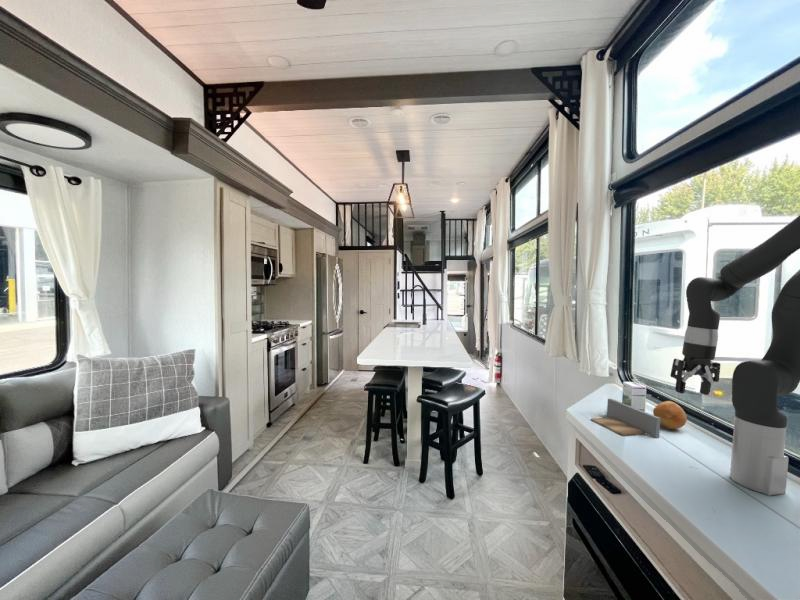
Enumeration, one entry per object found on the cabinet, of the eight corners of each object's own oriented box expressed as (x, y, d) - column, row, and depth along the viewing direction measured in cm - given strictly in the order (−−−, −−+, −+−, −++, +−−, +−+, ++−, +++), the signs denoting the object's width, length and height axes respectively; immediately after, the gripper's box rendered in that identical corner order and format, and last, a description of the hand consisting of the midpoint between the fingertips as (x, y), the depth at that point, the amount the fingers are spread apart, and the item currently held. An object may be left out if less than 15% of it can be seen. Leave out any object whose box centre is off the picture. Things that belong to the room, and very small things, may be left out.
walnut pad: (645, 434, 116) (645, 432, 116) (623, 436, 114) (623, 434, 114) (611, 418, 130) (611, 417, 130) (590, 420, 128) (590, 418, 128)
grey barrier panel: (659, 437, 114) (660, 418, 114) (655, 438, 114) (657, 418, 113) (609, 415, 134) (610, 398, 133) (606, 415, 133) (607, 398, 133)
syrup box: (645, 423, 127) (647, 386, 127) (629, 422, 127) (632, 385, 127) (634, 417, 133) (637, 381, 132) (620, 416, 133) (622, 381, 132)
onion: (647, 421, 129) (649, 396, 129) (677, 424, 127) (679, 399, 126) (659, 431, 120) (661, 404, 120) (691, 435, 117) (694, 408, 117)
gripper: (691, 343, 96) (683, 396, 98) (733, 346, 98) (725, 399, 99) (668, 338, 104) (660, 388, 105) (707, 341, 105) (700, 390, 107)
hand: (692, 393), depth 102 cm, fingers open, 8 cm apart
